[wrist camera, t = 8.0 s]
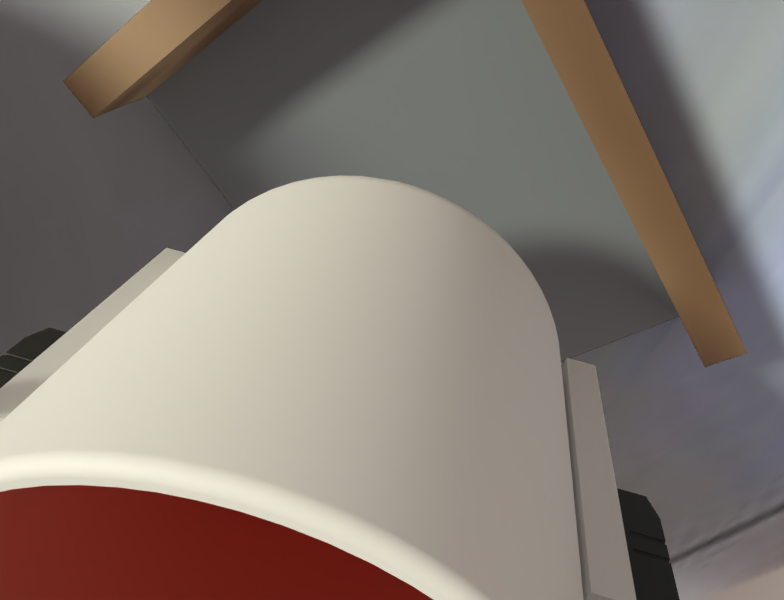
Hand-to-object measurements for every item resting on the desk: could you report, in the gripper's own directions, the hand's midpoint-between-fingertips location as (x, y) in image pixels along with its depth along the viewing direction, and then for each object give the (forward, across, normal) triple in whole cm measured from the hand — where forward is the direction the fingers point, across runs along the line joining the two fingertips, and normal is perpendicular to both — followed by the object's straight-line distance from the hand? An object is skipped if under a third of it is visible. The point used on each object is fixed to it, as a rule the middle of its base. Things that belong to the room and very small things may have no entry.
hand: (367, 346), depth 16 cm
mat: (+7, 0, +2) cm, 7 cm away
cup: (+1, 0, 0) cm, 1 cm away
